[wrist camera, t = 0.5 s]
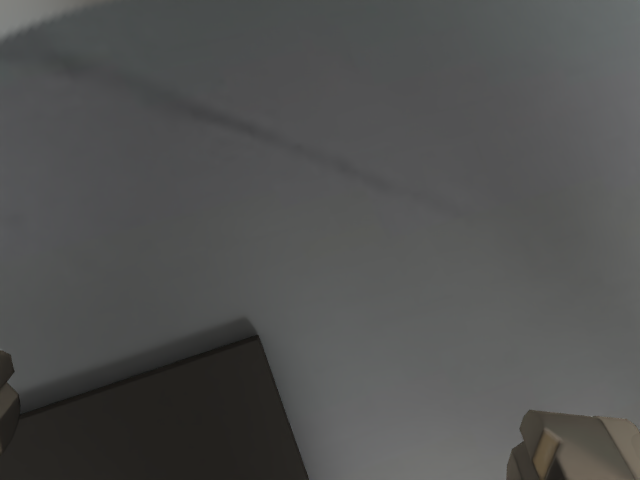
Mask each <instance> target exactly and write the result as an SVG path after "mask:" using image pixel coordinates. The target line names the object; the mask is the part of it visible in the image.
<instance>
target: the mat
mask: <svg viewBox="0 0 640 480" xmlns="http://www.w3.org/2000/svg"><path fill="white" fill-rule="evenodd" d="M0 480H309V478H308V475H307V472H306V470H305V467H304V464H303V461H302V458H301V455H300V452H299V450H298V447H297V444H296V441H295V438H294V435H293V432H292V429H291V427H290V424H289V421H288V418H287V415H286V412H285V409H284V407H283V404H282V401H281V398H280V395H279V392H278V389H277V387H276V384H275V381H274V378H273V375H272V372H271V369H270V366H269V364H268V361H267V358H266V355H265V352H264V349H263V346H262V344H261V341H260V338H259V336H258V335H256V336H253V337H250V338H247V339H244V340H241V341H238V342H235V343H232V344H229V345H226V346H223V347H220V348H217V349H214V350H211V351H208V352H205V353H202V354H199V355H196V356H193V357H190V358H187V359H184V360H181V361H179V362H176V363H173V364H170V365H167V366H164V367H161V368H158V369H155V370H152V371H149V372H146V373H143V374H140V375H137V376H134V377H131V378H128V379H125V380H122V381H119V382H116V383H113V384H110V385H107V386H104V387H101V388H98V389H95V390H92V391H89V392H86V393H83V394H80V395H77V396H74V397H72V398H69V399H66V400H63V401H60V402H57V403H54V404H51V405H48V406H45V407H42V408H39V409H36V410H33V411H30V412H27V413H24V414H21V415H20V417H19V423H18V426H17V428H16V431H15V434H14V436H13V439H12V441H11V442H10V444H9V445H8V447H7V448H6V449H5V451H4V452H3V454H2V455H1V456H0Z"/></svg>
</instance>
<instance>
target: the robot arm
mask: <svg viewBox="0 0 640 480" xmlns="http://www.w3.org/2000/svg"><path fill="white" fill-rule="evenodd" d="M13 373H14V367H13V363H12V358H11V355H10V354H8V353H6V352H4V351H2V350H0V456H1V455H2V454H3V452H4V451H5V449H6V448H7V447H8V445H9V444H10V442H11V441H12V439H13V436H14V434H15V431H16V428H17V426H18V423H19V417H20V401H19V394H18V393H17V392H16V391H15V390H14V389H13V388H12V387H11V386H10V385H9V384H8V383H7V381H8V380H9V378H10V377H11V376H12V375H13ZM519 429H520V432H521V434H522V437H523V440H524V441H523V442H522V443H520V444H519V445H517V446H516V447H515V448H513V449H512V451H511V454H510V457H509V460H508V464H507V476H506V480H640V432H639V430H638V429H637V427H636V426H635V425H634V424H633V423H632V422H630V421H629V420H627V419H622V418H611V417H600V416H593V417H591V416H584V415H574V414H565V413H555V412H546V411H536V410H529V411H528V412H527V413H526V414H525V416H524V417H523V420H522V422H521V425H520V428H519Z"/></svg>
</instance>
